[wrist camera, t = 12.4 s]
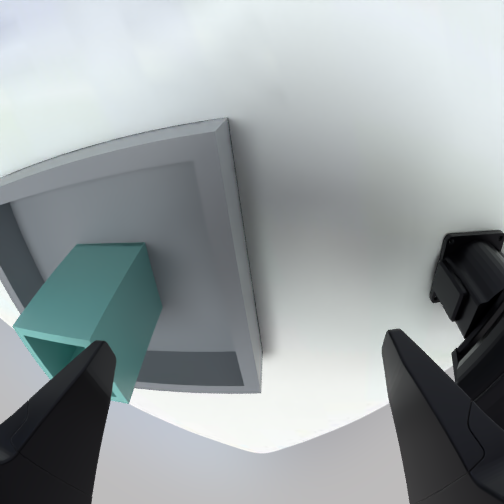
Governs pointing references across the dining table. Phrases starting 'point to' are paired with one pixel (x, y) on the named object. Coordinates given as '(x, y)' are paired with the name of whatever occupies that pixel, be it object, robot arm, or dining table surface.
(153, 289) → the box
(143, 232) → the grey square tray
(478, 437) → the robot arm
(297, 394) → the dining table surface
